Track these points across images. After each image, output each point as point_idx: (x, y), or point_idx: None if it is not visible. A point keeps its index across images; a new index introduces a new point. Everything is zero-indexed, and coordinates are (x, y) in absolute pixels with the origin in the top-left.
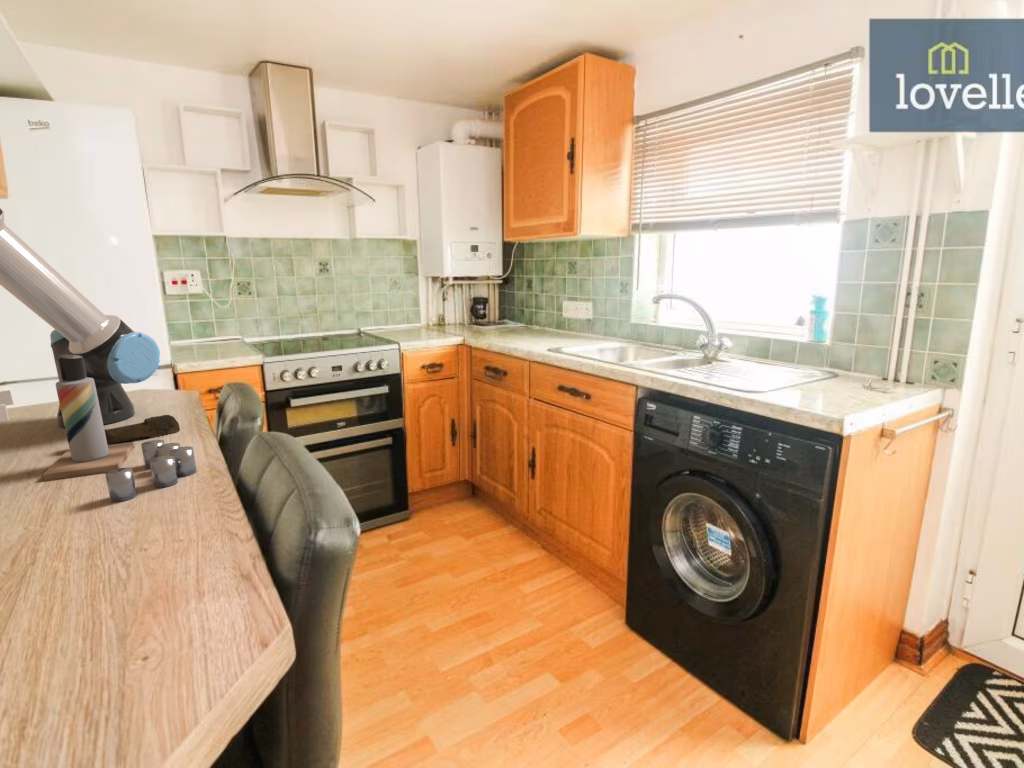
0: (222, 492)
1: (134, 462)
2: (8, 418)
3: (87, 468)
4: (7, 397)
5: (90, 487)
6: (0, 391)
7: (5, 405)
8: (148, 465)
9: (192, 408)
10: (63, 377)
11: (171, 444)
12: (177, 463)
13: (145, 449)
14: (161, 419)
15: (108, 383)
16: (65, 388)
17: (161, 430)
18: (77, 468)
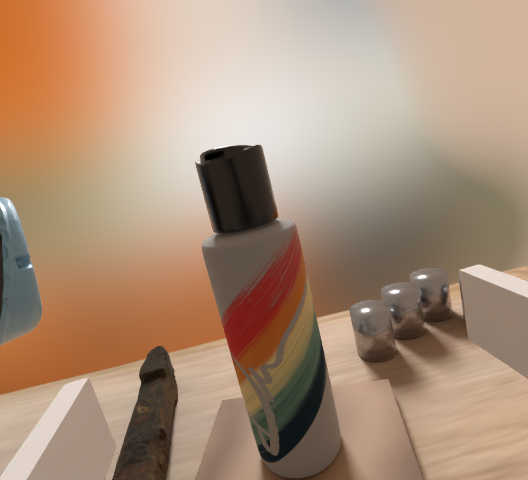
0: (523, 271)
1: (342, 383)
2: (468, 333)
3: (401, 421)
4: (95, 422)
5: (502, 405)
6: (70, 403)
7: (461, 275)
8: (394, 347)
9: (11, 395)
10: (267, 211)
11: (391, 289)
12: (449, 291)
13: (389, 317)
14: (166, 355)
15: None
16: (296, 238)
17: (174, 378)
18: (394, 443)
